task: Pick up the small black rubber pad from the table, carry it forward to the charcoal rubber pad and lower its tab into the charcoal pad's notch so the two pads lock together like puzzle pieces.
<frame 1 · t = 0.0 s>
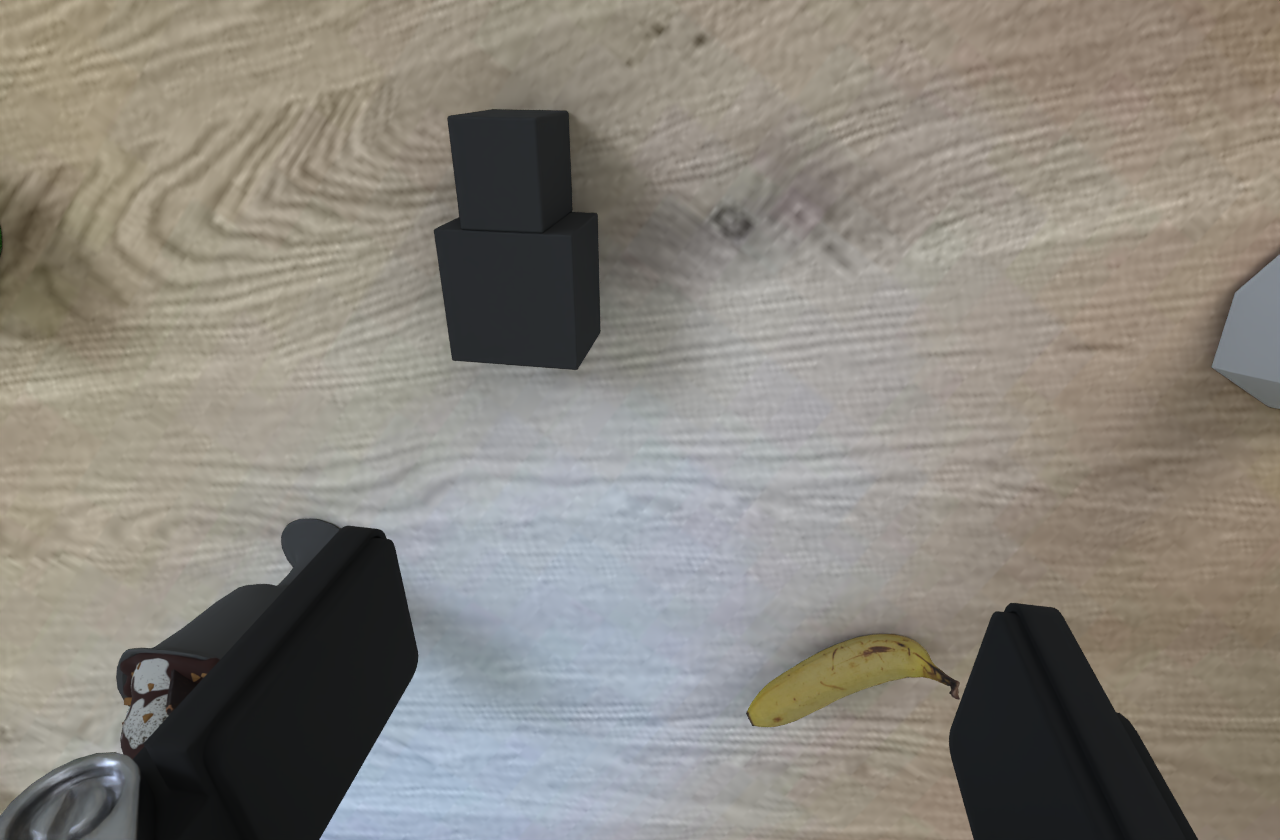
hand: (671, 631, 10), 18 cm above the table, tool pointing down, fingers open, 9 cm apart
sundae: (325, 551, 37), on the table
banana: (840, 642, 34), on the table
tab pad: (540, 272, 27), on the table
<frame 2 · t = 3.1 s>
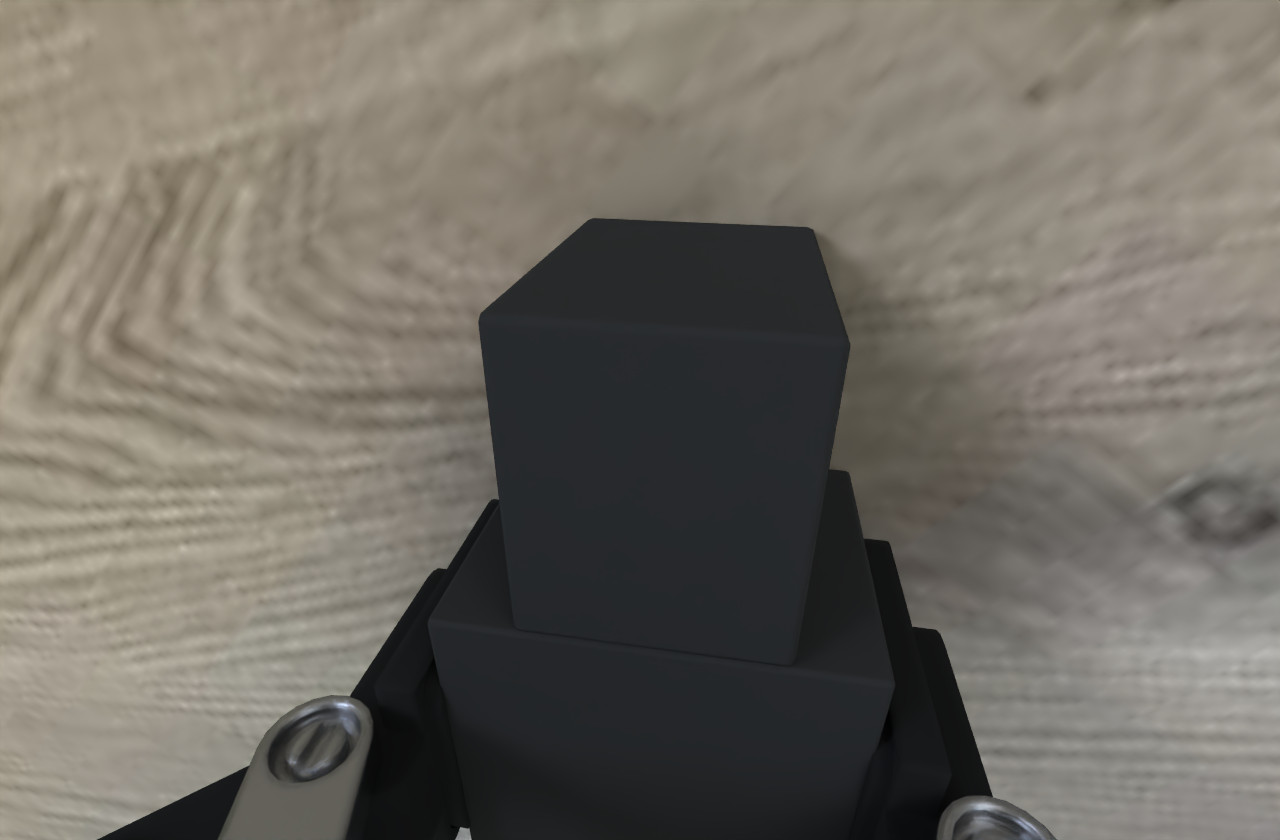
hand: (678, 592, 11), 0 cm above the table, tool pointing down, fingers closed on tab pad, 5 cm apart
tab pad: (681, 575, 11), on the table, touching gripper
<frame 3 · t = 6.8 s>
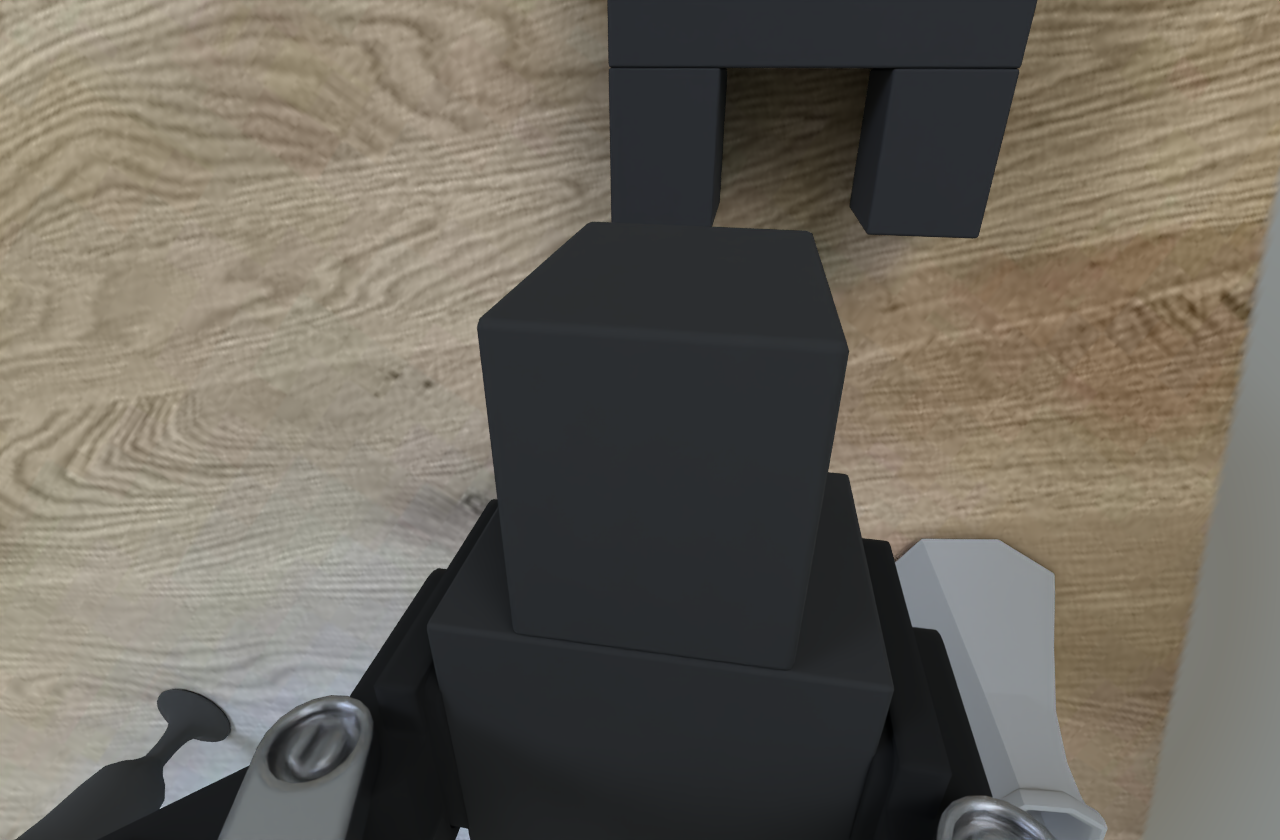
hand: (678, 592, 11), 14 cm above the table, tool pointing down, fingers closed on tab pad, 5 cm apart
notch pad: (801, 29, 19), on the table
flask: (955, 595, 28), on the table
sundae: (197, 712, 42), on the table
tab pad: (680, 577, 11), point 14 cm above the table, touching gripper
when the fingers open (0 cm above the table, at t = 10.4 s): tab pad stays where it is, on the table.
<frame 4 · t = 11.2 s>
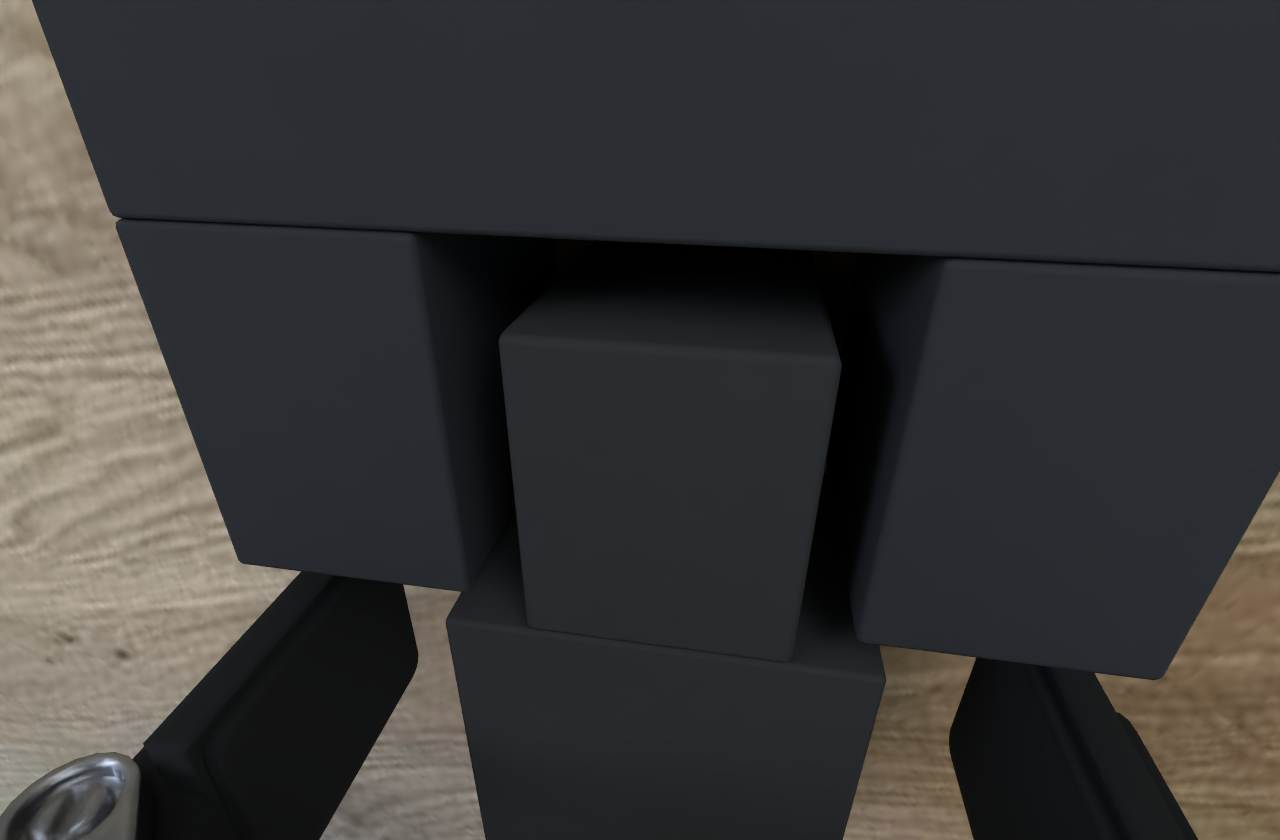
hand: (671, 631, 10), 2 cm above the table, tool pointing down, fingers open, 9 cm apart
notch pad: (707, 90, 8), on the table
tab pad: (683, 577, 12), on the table
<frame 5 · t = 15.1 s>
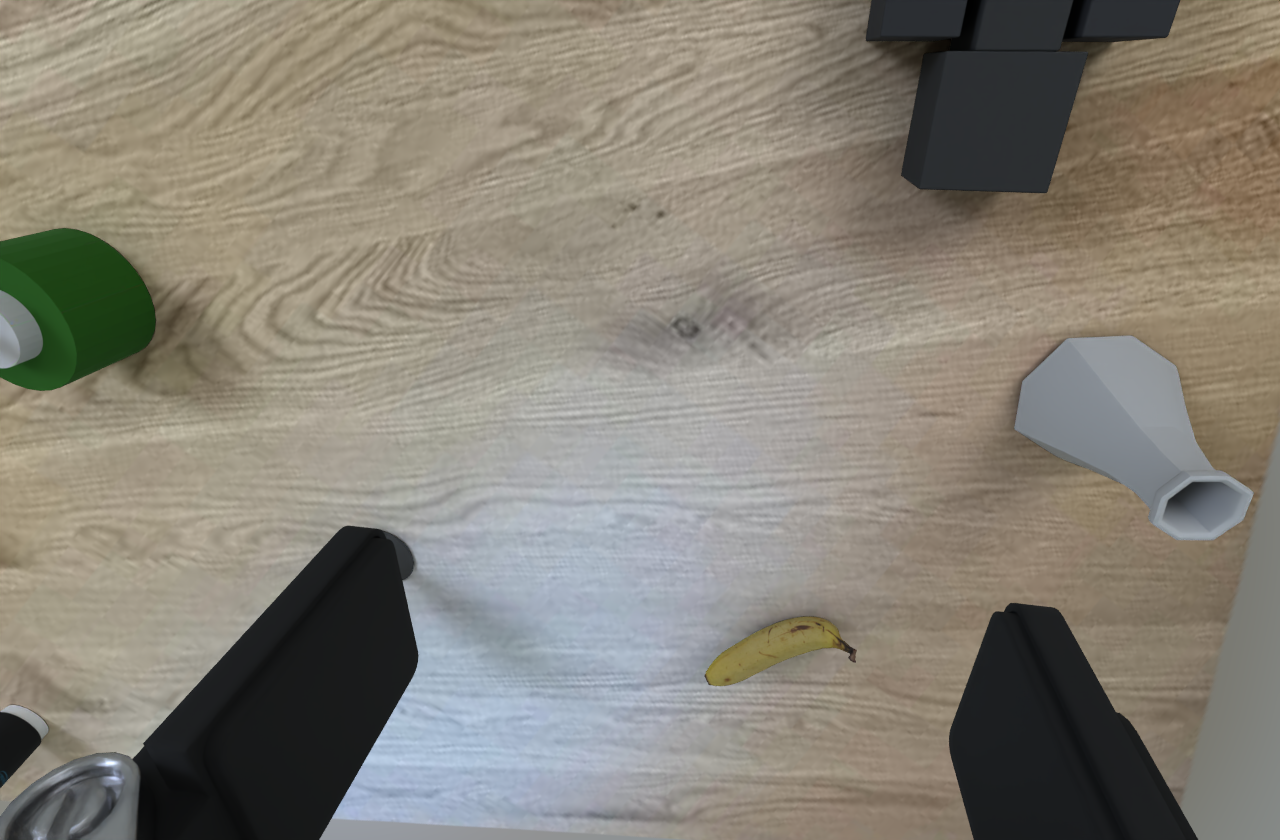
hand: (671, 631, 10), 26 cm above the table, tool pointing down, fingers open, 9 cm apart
candle: (96, 293, 41), on the table
dixie cup: (28, 718, 68), on the table
flask: (1087, 394, 34), on the table
sundae: (384, 554, 48), on the table
banana: (777, 623, 45), on the table
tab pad: (970, 118, 29), on the table
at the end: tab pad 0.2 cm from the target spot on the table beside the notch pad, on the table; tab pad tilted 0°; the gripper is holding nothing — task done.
